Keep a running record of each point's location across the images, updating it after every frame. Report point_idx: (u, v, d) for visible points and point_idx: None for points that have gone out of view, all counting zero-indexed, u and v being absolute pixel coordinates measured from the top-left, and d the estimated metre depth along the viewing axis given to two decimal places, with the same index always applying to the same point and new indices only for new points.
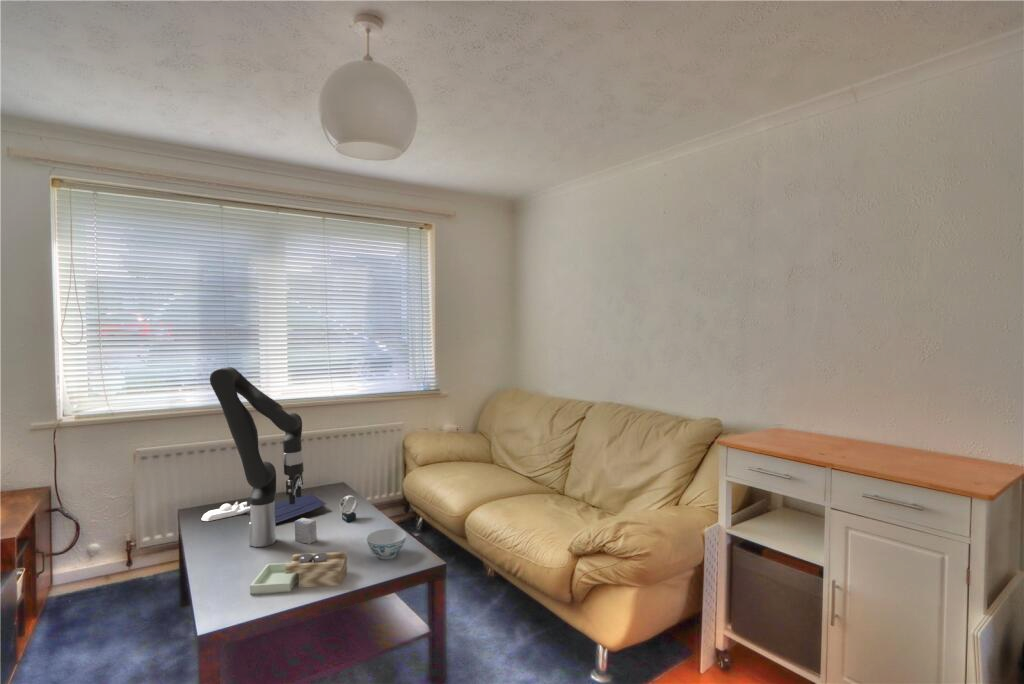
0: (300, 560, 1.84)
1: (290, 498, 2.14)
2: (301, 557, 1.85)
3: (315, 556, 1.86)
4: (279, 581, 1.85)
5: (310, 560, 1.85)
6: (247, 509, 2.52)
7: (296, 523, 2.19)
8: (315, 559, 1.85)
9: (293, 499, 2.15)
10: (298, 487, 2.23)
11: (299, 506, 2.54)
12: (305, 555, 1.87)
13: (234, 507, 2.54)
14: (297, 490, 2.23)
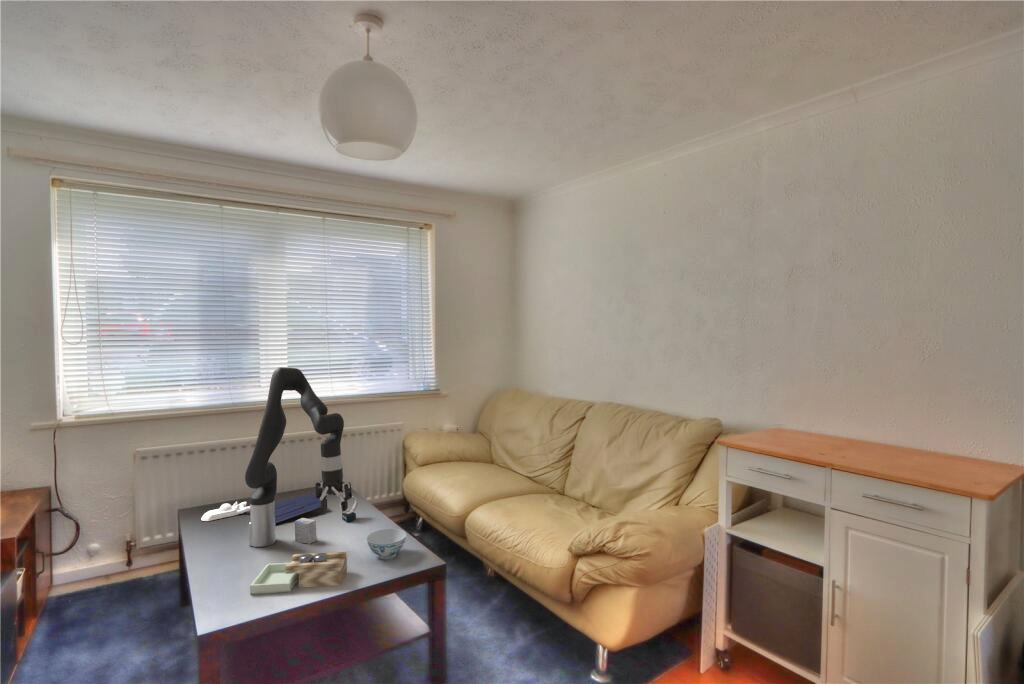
0: (300, 560, 1.84)
1: (345, 504, 1.96)
2: (301, 557, 1.85)
3: (315, 556, 1.86)
4: (279, 581, 1.85)
5: (310, 560, 1.85)
6: (247, 509, 2.52)
7: (296, 523, 2.19)
8: (315, 559, 1.85)
9: None
10: (324, 498, 1.99)
11: (299, 506, 2.54)
12: (305, 555, 1.87)
13: (234, 507, 2.54)
14: (324, 501, 1.99)
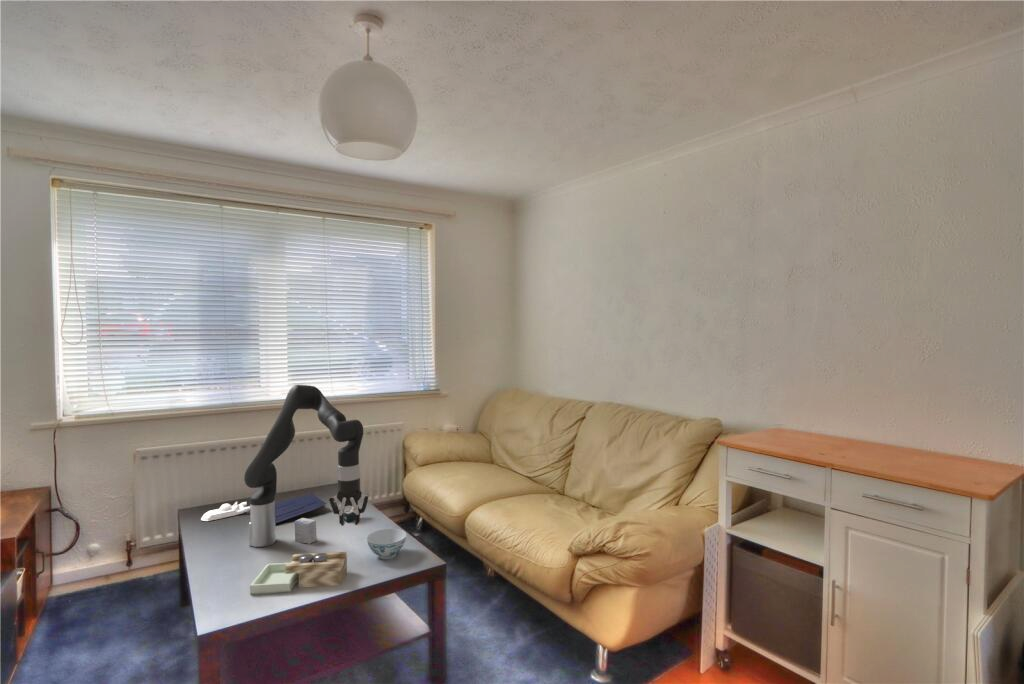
0: (300, 560, 1.84)
1: (359, 517, 1.87)
2: (301, 557, 1.85)
3: (315, 556, 1.86)
4: (279, 581, 1.85)
5: (310, 560, 1.85)
6: (247, 509, 2.52)
7: (296, 523, 2.19)
8: (315, 559, 1.85)
9: None
10: (343, 513, 1.87)
11: (300, 506, 2.54)
12: (305, 555, 1.87)
13: (234, 507, 2.54)
14: (343, 516, 1.87)
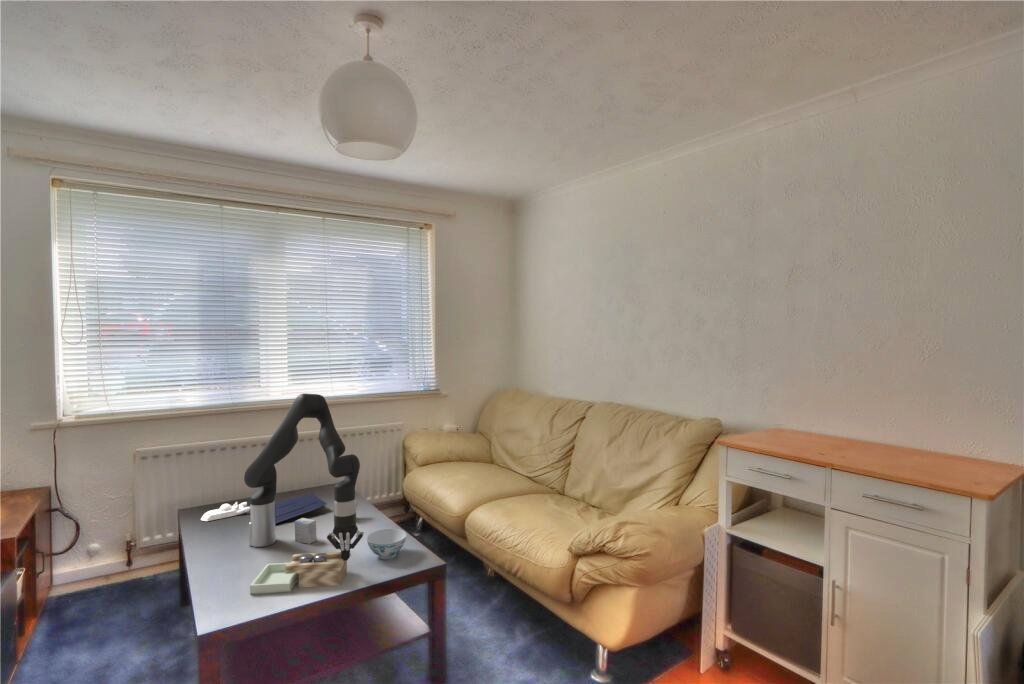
0: (300, 560, 1.84)
1: (349, 552, 1.88)
2: (301, 557, 1.85)
3: (315, 556, 1.86)
4: (279, 581, 1.85)
5: (310, 560, 1.85)
6: (247, 509, 2.51)
7: (296, 523, 2.19)
8: (316, 559, 1.85)
9: None
10: (345, 548, 1.88)
11: (300, 506, 2.54)
12: (305, 555, 1.87)
13: (234, 507, 2.53)
14: None
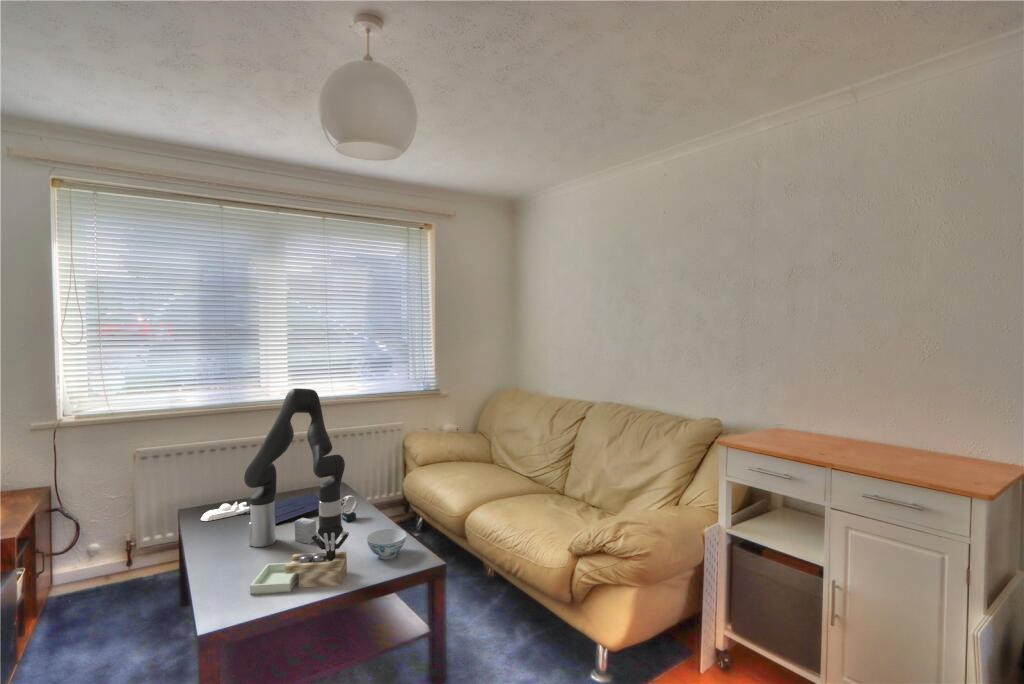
0: (300, 560, 1.84)
1: (334, 552, 1.87)
2: (301, 557, 1.85)
3: (314, 556, 1.86)
4: (279, 581, 1.85)
5: (310, 560, 1.85)
6: (246, 509, 2.52)
7: (296, 523, 2.19)
8: (315, 559, 1.85)
9: None
10: (330, 548, 1.87)
11: (300, 506, 2.54)
12: (305, 555, 1.87)
13: (234, 507, 2.54)
14: None
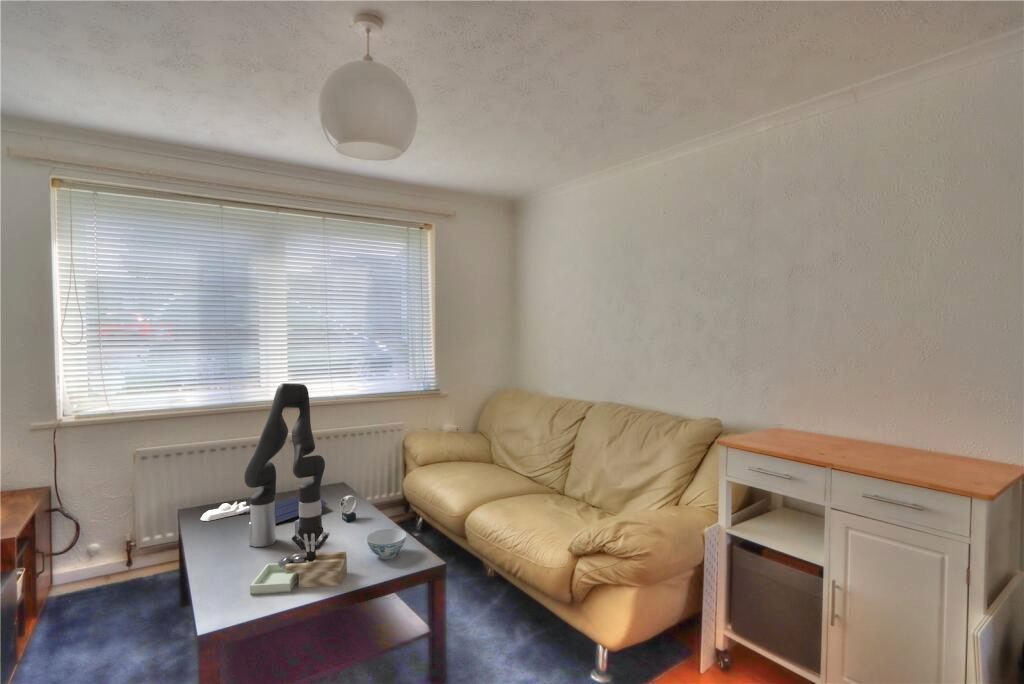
0: (279, 565, 1.84)
1: (315, 553, 1.86)
2: (280, 562, 1.85)
3: (294, 557, 1.85)
4: (279, 581, 1.85)
5: (289, 560, 1.85)
6: (246, 509, 2.52)
7: (296, 523, 2.19)
8: (295, 560, 1.84)
9: None
10: (310, 549, 1.87)
11: None
12: (284, 558, 1.86)
13: (233, 507, 2.54)
14: None
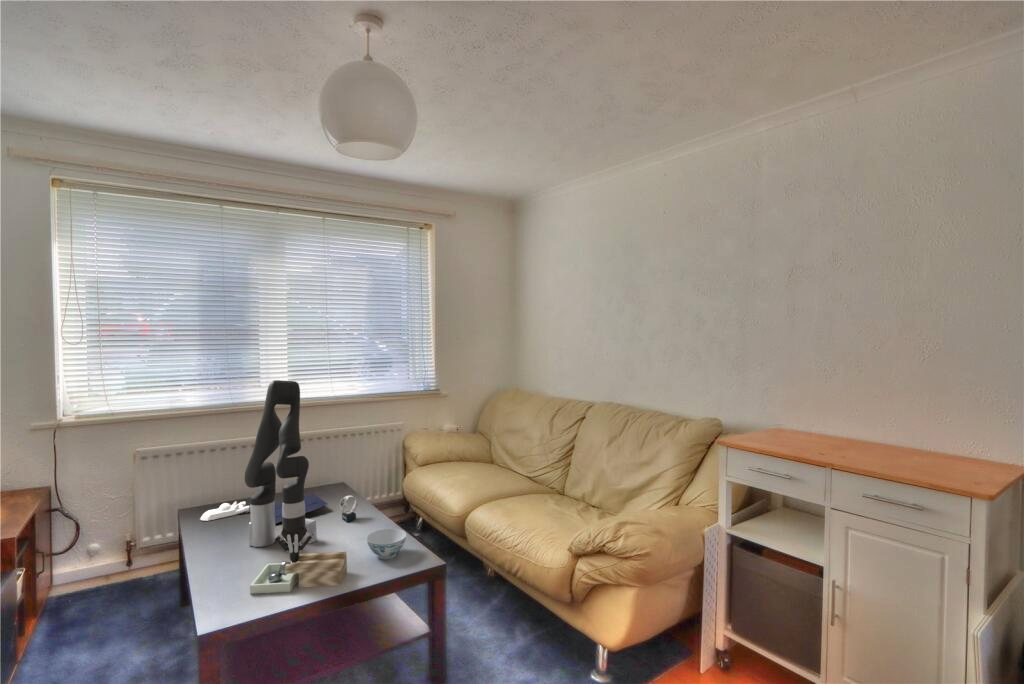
0: (278, 581, 1.84)
1: (298, 554, 1.86)
2: None
3: (279, 572, 1.85)
4: None
5: None
6: (246, 508, 2.53)
7: None
8: (279, 572, 1.83)
9: None
10: None
11: None
12: None
13: (233, 506, 2.54)
14: None
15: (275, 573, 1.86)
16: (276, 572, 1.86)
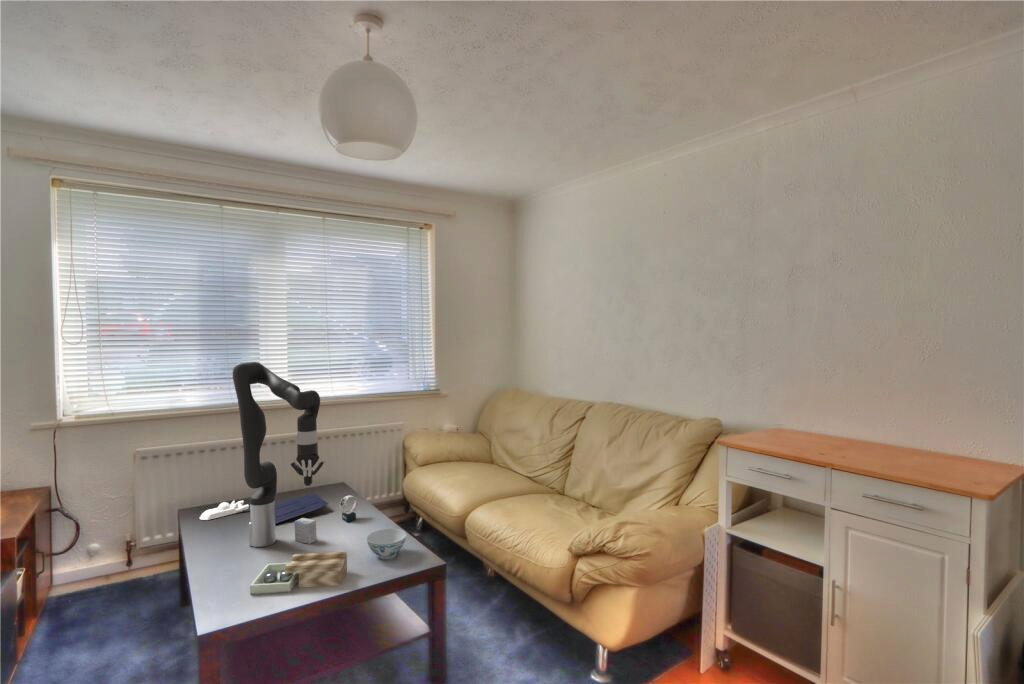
0: (273, 581, 1.84)
1: (311, 478, 2.08)
2: None
3: (282, 571, 1.86)
4: (279, 581, 1.85)
5: (264, 579, 1.84)
6: (246, 507, 2.55)
7: (296, 523, 2.19)
8: (280, 574, 1.84)
9: None
10: (307, 474, 2.08)
11: (302, 506, 2.54)
12: None
13: (232, 505, 2.56)
14: None
15: (270, 573, 1.86)
16: (271, 572, 1.86)
